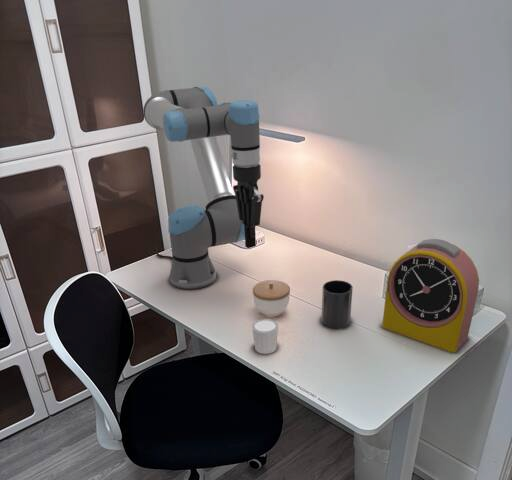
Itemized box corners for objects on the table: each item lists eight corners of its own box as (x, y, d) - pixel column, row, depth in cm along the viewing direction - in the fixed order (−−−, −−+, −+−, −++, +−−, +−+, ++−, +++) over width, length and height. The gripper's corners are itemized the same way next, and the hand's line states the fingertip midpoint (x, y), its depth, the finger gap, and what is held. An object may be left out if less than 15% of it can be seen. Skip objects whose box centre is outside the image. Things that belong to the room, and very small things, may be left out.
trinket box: (283, 323, 149) (283, 294, 144) (248, 317, 152) (246, 289, 147) (294, 305, 157) (294, 277, 152) (261, 300, 161) (259, 272, 155)
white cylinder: (283, 349, 138) (283, 326, 135) (262, 358, 135) (261, 335, 131) (268, 337, 143) (268, 315, 139) (247, 346, 140) (246, 324, 136)
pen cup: (316, 319, 150) (317, 285, 144) (338, 311, 153) (339, 277, 147) (333, 332, 144) (335, 297, 138) (355, 323, 148) (358, 288, 142)
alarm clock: (381, 327, 145) (391, 238, 131) (396, 313, 151) (407, 226, 136) (454, 353, 134) (474, 258, 119) (468, 337, 140) (489, 245, 125)
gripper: (222, 161, 143) (228, 242, 156) (246, 172, 134) (250, 257, 147) (246, 156, 147) (250, 236, 160) (271, 166, 137) (273, 250, 150)
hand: (250, 246), depth 153 cm, fingers closed
